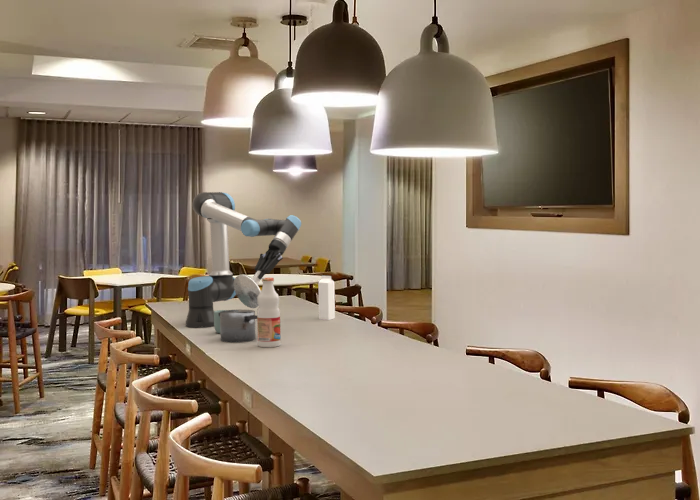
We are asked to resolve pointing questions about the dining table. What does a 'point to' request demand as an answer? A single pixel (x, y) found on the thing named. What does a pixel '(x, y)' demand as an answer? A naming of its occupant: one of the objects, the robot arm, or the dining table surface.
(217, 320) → the cup
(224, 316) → the cooker pot
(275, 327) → the fruit juice
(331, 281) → the milk
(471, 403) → the dining table surface
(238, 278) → the lid
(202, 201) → the robot arm
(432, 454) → the dining table surface
